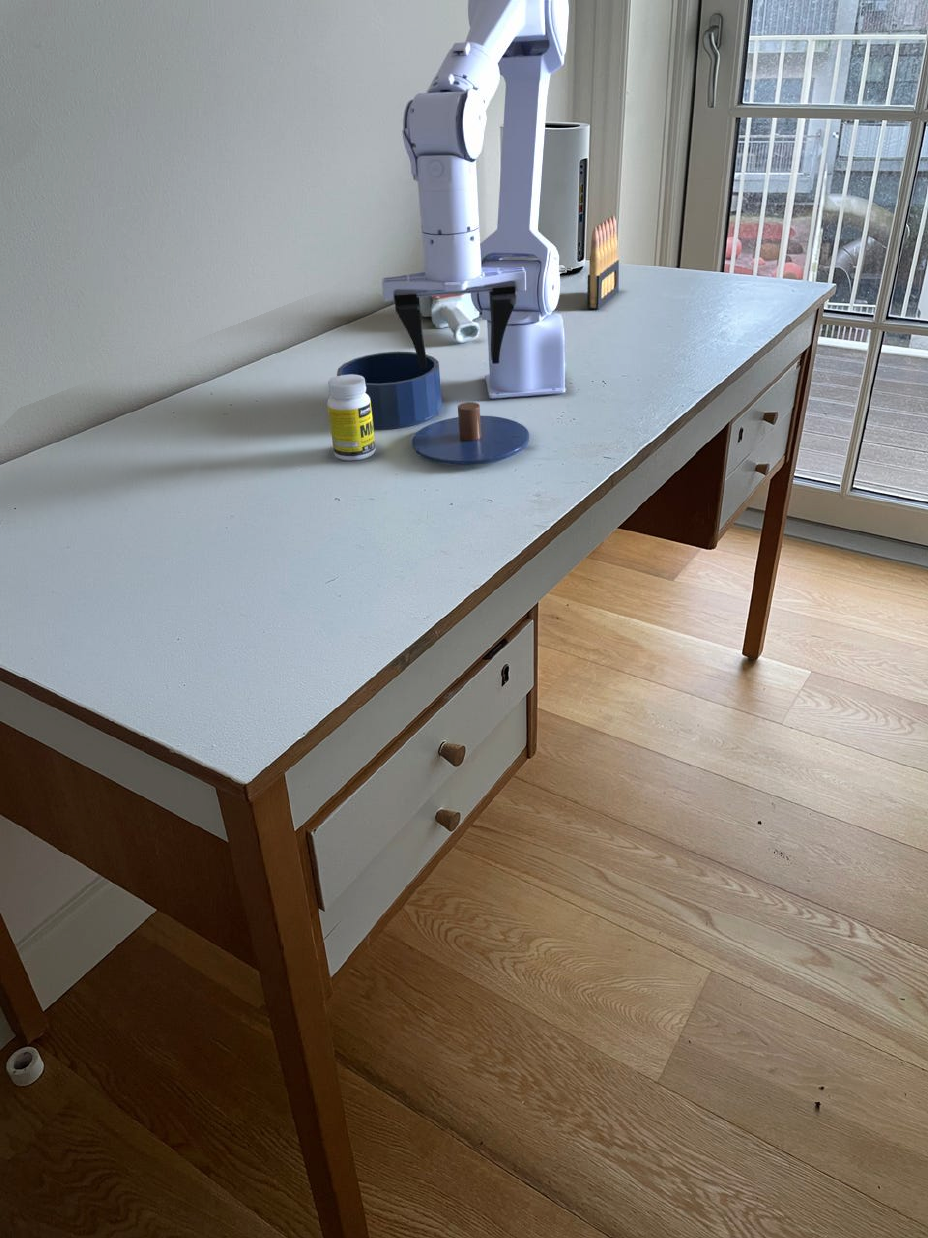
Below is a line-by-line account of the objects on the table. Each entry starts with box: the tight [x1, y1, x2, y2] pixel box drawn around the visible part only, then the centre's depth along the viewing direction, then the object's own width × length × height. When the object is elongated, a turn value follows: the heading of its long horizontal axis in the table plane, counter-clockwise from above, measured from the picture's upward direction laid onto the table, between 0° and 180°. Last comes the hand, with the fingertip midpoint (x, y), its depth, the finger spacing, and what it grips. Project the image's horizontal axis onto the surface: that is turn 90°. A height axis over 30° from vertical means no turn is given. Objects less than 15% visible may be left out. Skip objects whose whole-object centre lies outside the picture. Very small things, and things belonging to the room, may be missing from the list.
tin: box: [336, 351, 443, 430], centre depth 119 cm, size 12×12×5 cm
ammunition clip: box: [586, 214, 620, 311], centre depth 152 cm, size 11×2×12 cm, turn 155°
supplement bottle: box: [326, 375, 377, 461], centre depth 107 cm, size 5×5×8 cm
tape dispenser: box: [419, 293, 482, 344], centre depth 149 cm, size 18×5×20 cm
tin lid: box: [411, 401, 530, 466], centre depth 108 cm, size 13×13×5 cm
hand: (459, 363), depth 104 cm, fingers open, 7 cm apart
